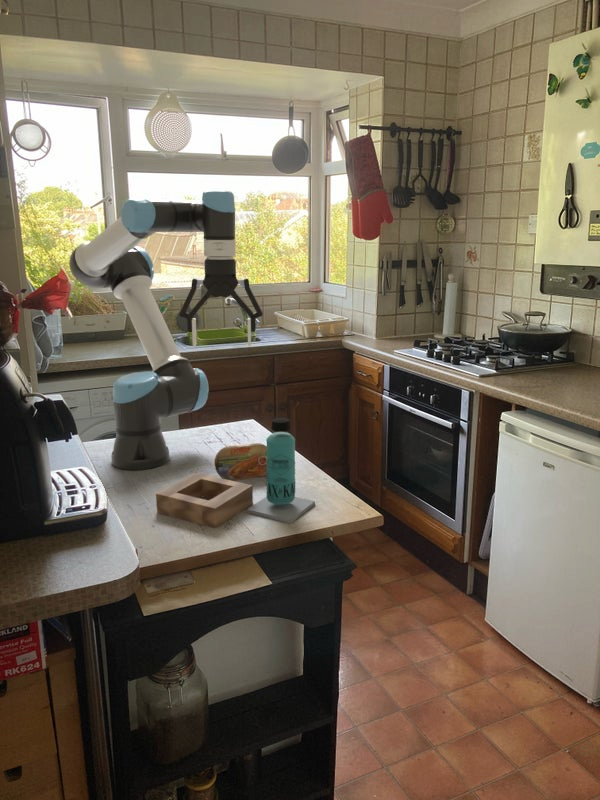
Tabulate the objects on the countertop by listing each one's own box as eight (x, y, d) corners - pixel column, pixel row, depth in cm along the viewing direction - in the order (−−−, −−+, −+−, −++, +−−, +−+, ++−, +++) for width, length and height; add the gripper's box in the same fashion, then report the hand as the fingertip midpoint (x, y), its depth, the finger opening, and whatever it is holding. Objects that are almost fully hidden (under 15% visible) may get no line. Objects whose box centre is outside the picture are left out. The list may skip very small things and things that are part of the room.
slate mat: (247, 512, 139) (247, 509, 139) (273, 494, 149) (273, 491, 148) (290, 523, 134) (290, 520, 134) (314, 504, 143) (314, 501, 143)
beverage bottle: (263, 501, 143) (261, 416, 138) (291, 497, 145) (290, 413, 140) (270, 513, 137) (269, 425, 132) (299, 509, 139) (299, 422, 134)
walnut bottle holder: (157, 512, 140) (155, 493, 138) (196, 490, 151) (195, 472, 150) (216, 528, 132) (215, 508, 131) (252, 503, 144) (252, 485, 143)
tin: (215, 481, 157) (214, 449, 154) (214, 477, 159) (212, 445, 157) (275, 475, 160) (274, 444, 158) (272, 471, 163) (271, 440, 161)
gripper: (165, 258, 148) (169, 348, 153) (272, 259, 150) (272, 347, 156) (169, 257, 155) (173, 342, 161) (271, 257, 157) (271, 341, 163)
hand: (222, 345), depth 158 cm, fingers open, 13 cm apart
